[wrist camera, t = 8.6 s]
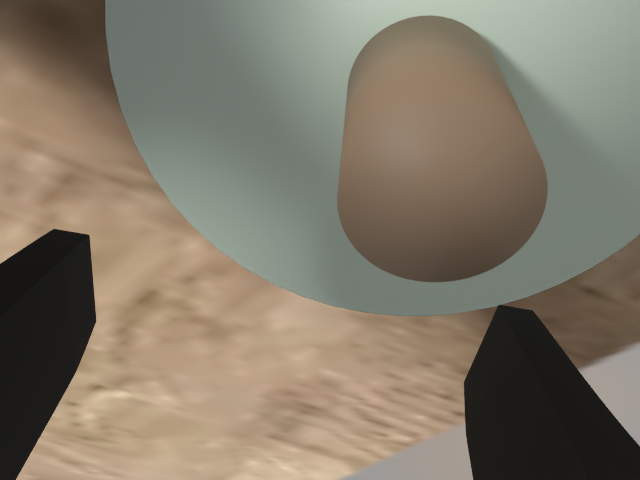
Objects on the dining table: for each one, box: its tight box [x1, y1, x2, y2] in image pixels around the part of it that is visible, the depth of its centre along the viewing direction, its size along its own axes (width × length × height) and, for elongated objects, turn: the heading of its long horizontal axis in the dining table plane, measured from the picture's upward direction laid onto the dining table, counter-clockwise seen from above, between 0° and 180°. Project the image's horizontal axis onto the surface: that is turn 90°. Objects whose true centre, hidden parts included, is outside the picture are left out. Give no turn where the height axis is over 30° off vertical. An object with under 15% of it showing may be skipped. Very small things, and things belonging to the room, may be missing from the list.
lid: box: [105, 0, 640, 316], centre depth 12 cm, size 14×14×6 cm
